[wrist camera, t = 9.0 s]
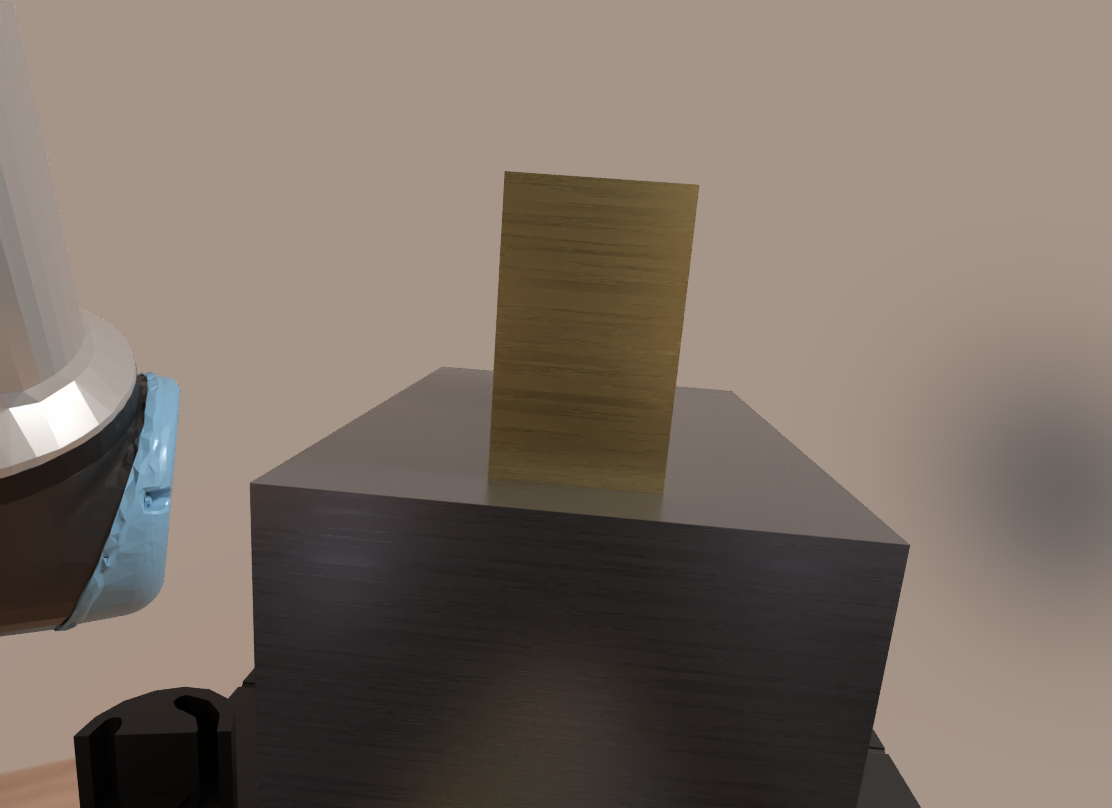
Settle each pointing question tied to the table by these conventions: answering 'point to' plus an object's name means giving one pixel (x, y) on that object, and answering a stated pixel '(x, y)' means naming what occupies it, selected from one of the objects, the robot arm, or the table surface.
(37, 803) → the table surface
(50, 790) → the table surface
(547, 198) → the grey metal pillar
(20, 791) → the table surface
